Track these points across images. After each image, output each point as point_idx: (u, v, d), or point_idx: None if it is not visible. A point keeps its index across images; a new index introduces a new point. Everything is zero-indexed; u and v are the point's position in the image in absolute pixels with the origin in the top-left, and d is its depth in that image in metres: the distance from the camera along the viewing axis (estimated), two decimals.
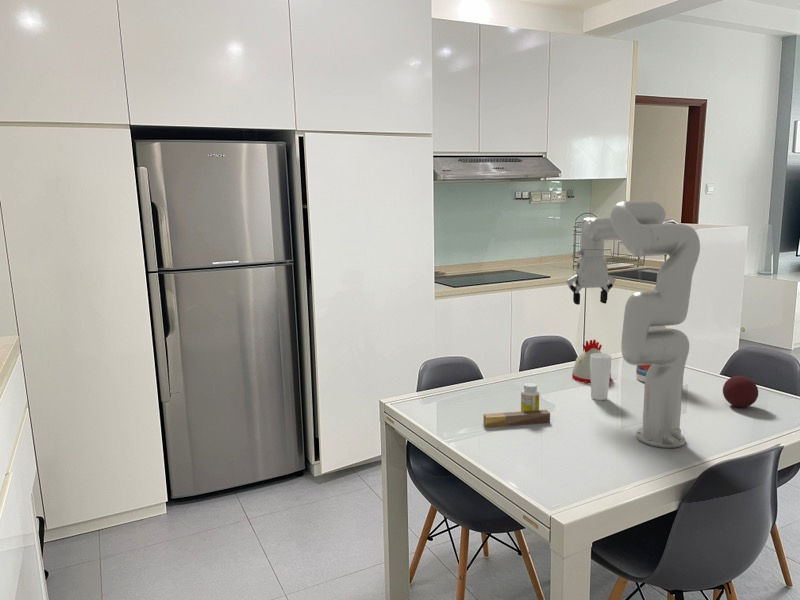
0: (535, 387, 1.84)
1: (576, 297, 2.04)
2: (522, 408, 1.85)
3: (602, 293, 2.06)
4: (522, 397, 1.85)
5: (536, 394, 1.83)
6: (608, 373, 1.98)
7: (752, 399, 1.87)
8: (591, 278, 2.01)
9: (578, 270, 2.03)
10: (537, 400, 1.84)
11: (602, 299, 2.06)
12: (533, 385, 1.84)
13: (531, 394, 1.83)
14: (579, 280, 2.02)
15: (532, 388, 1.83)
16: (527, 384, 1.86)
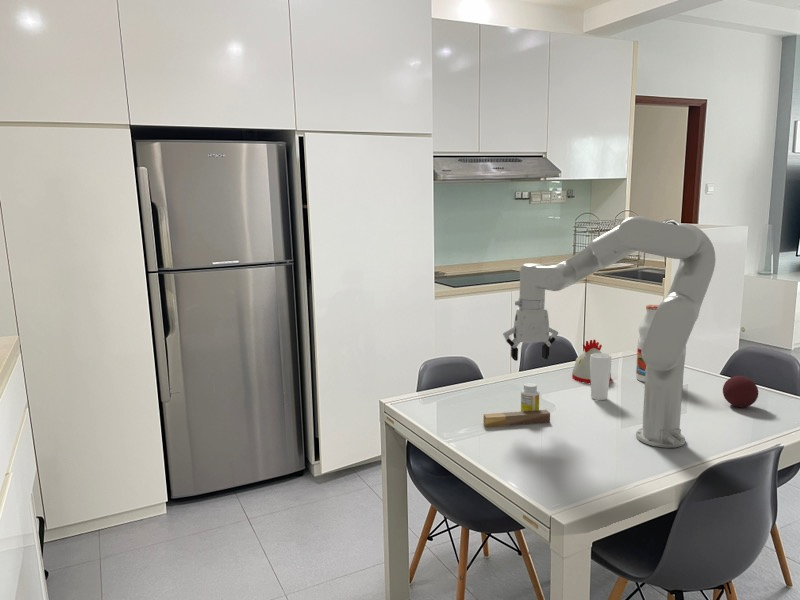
0: (535, 387, 1.84)
1: (514, 352, 1.82)
2: (522, 408, 1.85)
3: (543, 347, 1.84)
4: (522, 397, 1.85)
5: (536, 394, 1.83)
6: (608, 373, 1.98)
7: (752, 399, 1.87)
8: (530, 332, 1.79)
9: (516, 322, 1.80)
10: (537, 400, 1.84)
11: (543, 354, 1.84)
12: (533, 385, 1.84)
13: (531, 394, 1.83)
14: (517, 334, 1.80)
15: (532, 388, 1.83)
16: (527, 384, 1.86)
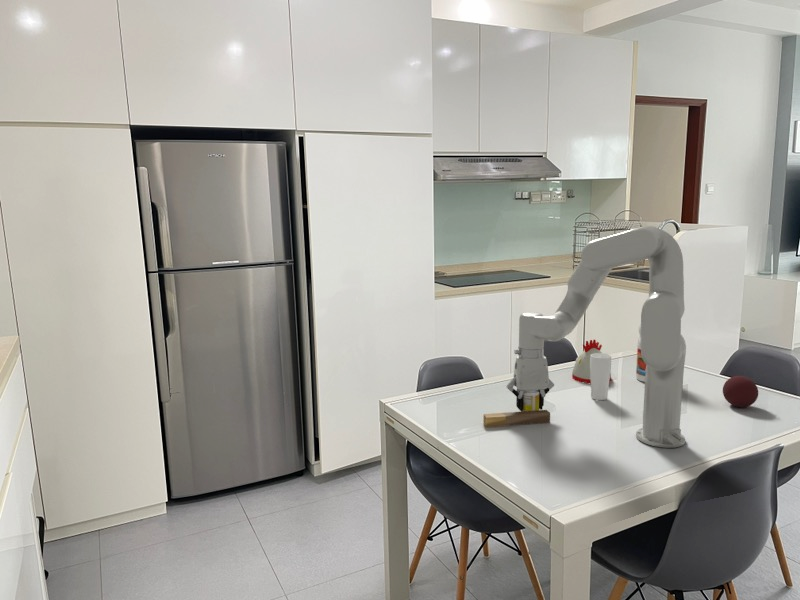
0: None
1: (519, 403, 1.84)
2: None
3: None
4: (522, 397, 1.85)
5: (536, 394, 1.83)
6: (608, 373, 1.98)
7: (752, 399, 1.87)
8: (530, 380, 1.82)
9: (516, 371, 1.83)
10: (537, 400, 1.84)
11: None
12: None
13: (531, 394, 1.83)
14: (516, 382, 1.82)
15: None
16: None
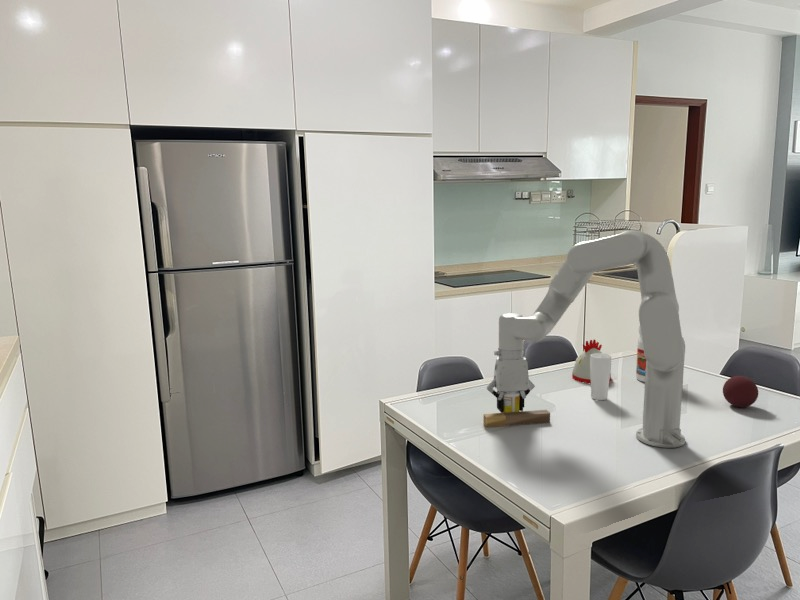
0: None
1: (499, 404, 1.84)
2: None
3: None
4: (502, 398, 1.84)
5: (516, 395, 1.82)
6: (608, 373, 1.98)
7: (752, 399, 1.87)
8: (509, 382, 1.81)
9: (495, 372, 1.82)
10: (517, 401, 1.83)
11: None
12: None
13: (511, 395, 1.82)
14: (496, 383, 1.81)
15: None
16: None
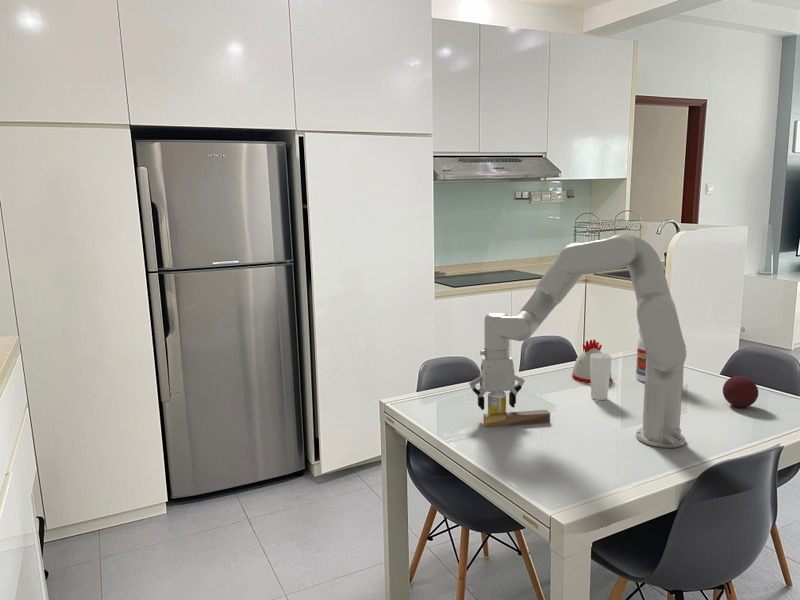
0: None
1: (480, 401, 1.82)
2: (489, 410, 1.84)
3: (510, 395, 1.85)
4: (488, 399, 1.83)
5: (502, 396, 1.82)
6: (608, 373, 1.98)
7: (752, 399, 1.87)
8: (495, 381, 1.80)
9: (481, 372, 1.81)
10: (503, 402, 1.82)
11: (510, 402, 1.85)
12: None
13: (497, 396, 1.81)
14: (482, 383, 1.81)
15: None
16: None
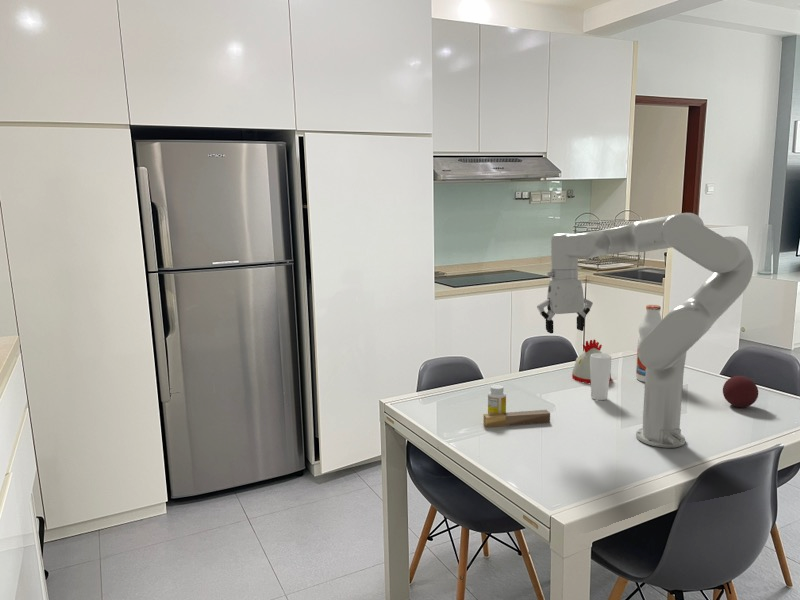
0: (501, 389, 1.82)
1: (549, 325, 1.78)
2: (489, 410, 1.84)
3: (578, 319, 1.80)
4: (488, 399, 1.83)
5: (502, 396, 1.82)
6: (608, 373, 1.98)
7: (752, 399, 1.87)
8: (565, 303, 1.75)
9: (550, 294, 1.77)
10: (503, 402, 1.82)
11: (579, 326, 1.80)
12: (499, 387, 1.83)
13: (497, 396, 1.81)
14: (551, 305, 1.76)
15: (498, 390, 1.82)
16: (494, 386, 1.84)
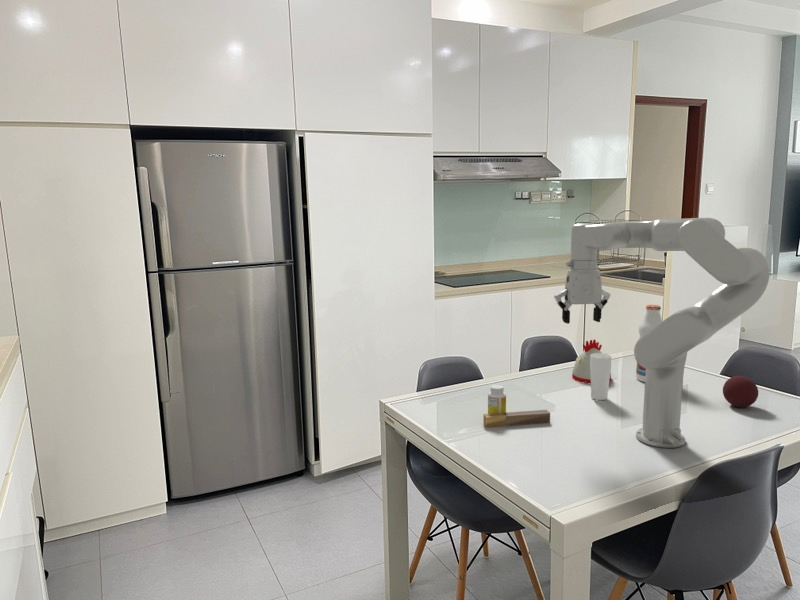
0: (501, 389, 1.82)
1: (565, 315, 1.77)
2: (489, 410, 1.84)
3: (595, 310, 1.80)
4: (488, 399, 1.83)
5: (502, 396, 1.82)
6: (608, 373, 1.98)
7: (752, 399, 1.87)
8: (582, 293, 1.75)
9: (568, 284, 1.76)
10: (503, 402, 1.82)
11: (595, 317, 1.80)
12: (499, 387, 1.83)
13: (497, 396, 1.81)
14: (569, 296, 1.76)
15: (498, 390, 1.82)
16: (494, 386, 1.84)
